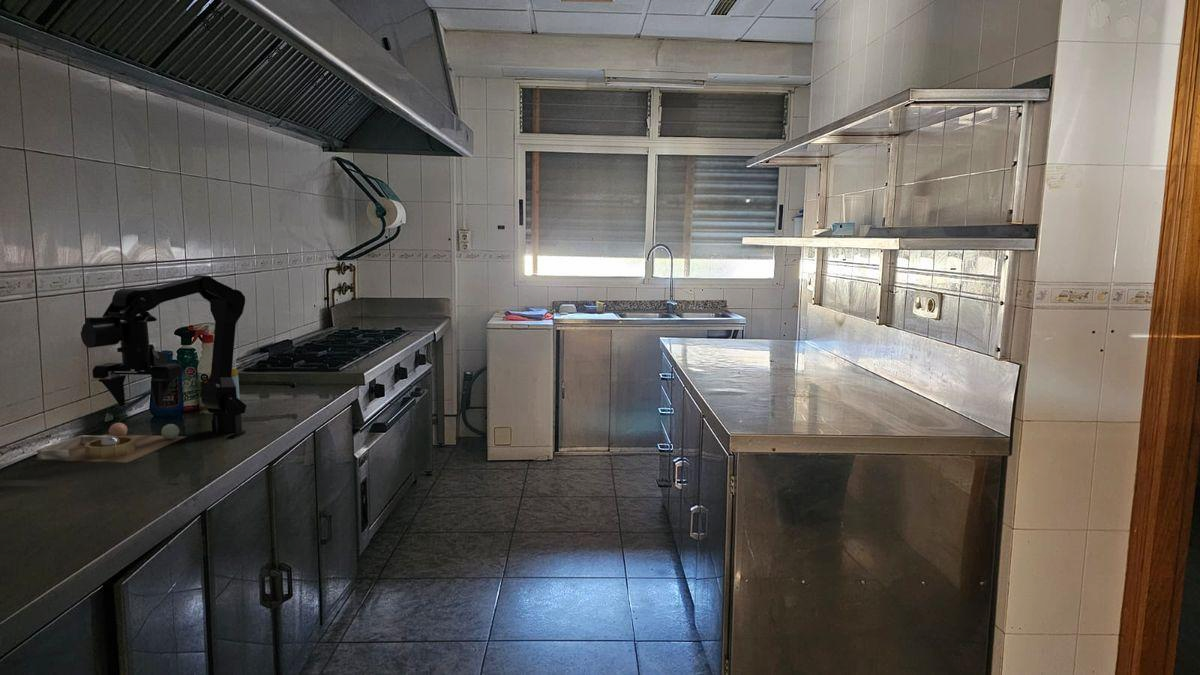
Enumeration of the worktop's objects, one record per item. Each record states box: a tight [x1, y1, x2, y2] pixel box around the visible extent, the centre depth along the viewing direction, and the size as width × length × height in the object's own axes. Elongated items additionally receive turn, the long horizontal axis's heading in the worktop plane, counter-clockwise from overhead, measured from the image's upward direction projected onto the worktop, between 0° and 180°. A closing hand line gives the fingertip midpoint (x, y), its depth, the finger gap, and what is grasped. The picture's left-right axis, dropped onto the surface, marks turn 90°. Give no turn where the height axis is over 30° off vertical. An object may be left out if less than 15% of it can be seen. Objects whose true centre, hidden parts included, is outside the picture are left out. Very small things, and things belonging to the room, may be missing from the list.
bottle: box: [232, 357, 241, 401], centre depth 231 cm, size 7×7×15 cm
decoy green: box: [160, 423, 180, 440], centre depth 188 cm, size 4×4×4 cm
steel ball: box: [101, 436, 120, 447], centre depth 177 cm, size 4×4×4 cm
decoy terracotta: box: [108, 422, 128, 437], centre depth 189 cm, size 4×4×4 cm
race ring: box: [85, 436, 136, 458], centre depth 177 cm, size 10×10×2 cm
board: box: [34, 433, 188, 463], centre depth 181 cm, size 23×22×3 cm
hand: (140, 406), depth 175 cm, fingers open, 9 cm apart
